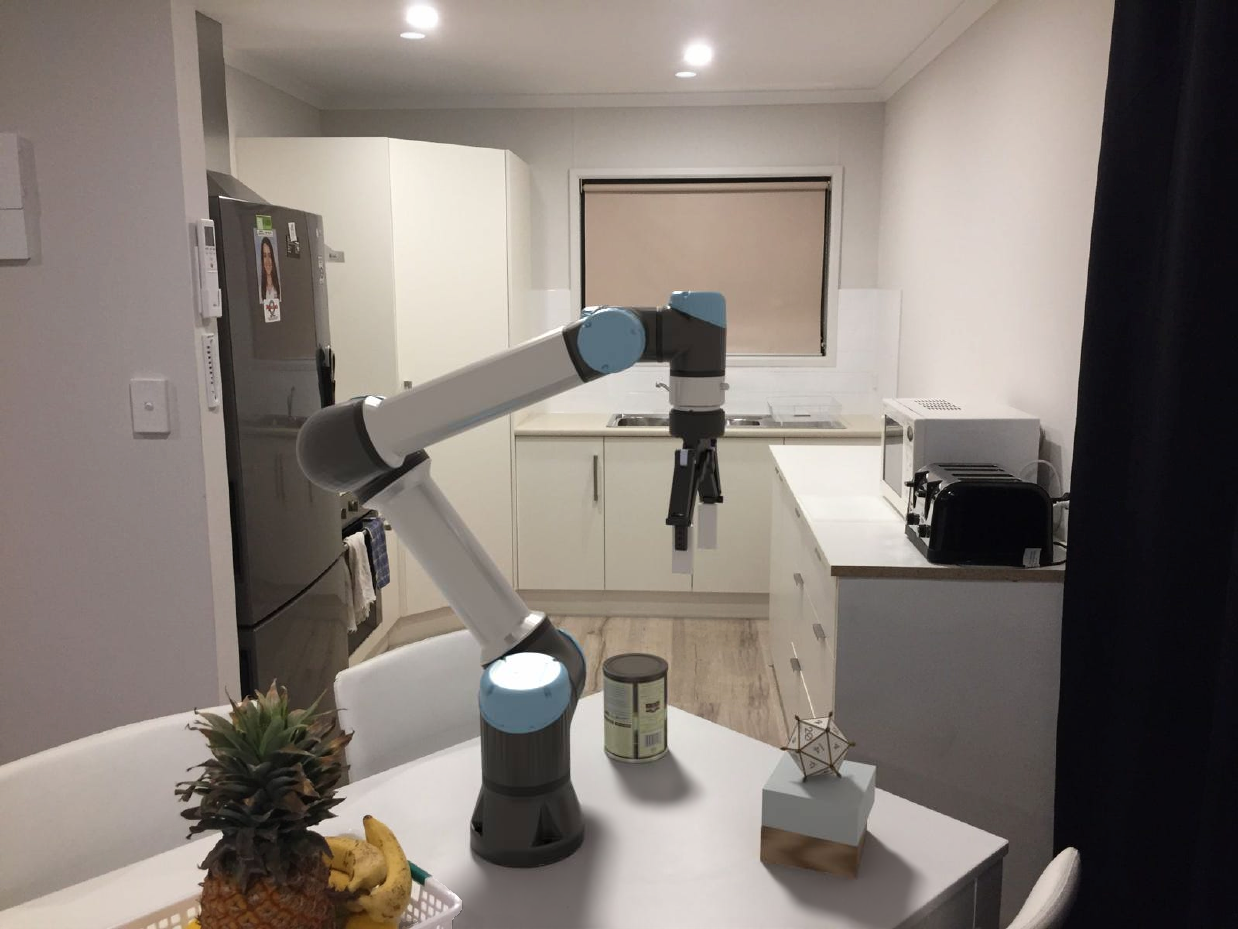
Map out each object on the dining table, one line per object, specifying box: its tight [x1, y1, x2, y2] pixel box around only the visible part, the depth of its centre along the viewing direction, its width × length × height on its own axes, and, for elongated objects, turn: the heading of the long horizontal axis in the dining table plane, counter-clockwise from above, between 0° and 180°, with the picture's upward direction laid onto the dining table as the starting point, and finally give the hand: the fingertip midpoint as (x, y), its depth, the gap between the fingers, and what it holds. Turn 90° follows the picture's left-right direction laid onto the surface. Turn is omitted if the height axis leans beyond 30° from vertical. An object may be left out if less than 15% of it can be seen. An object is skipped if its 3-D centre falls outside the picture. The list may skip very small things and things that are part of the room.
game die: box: [779, 710, 858, 783], centre depth 128 cm, size 9×8×10 cm
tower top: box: [760, 750, 877, 846], centre depth 129 cm, size 12×12×5 cm
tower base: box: [759, 821, 868, 879], centre depth 130 cm, size 12×12×5 cm
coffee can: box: [601, 652, 669, 764], centre depth 157 cm, size 10×10×14 cm
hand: (695, 560), depth 138 cm, fingers open, 13 cm apart
